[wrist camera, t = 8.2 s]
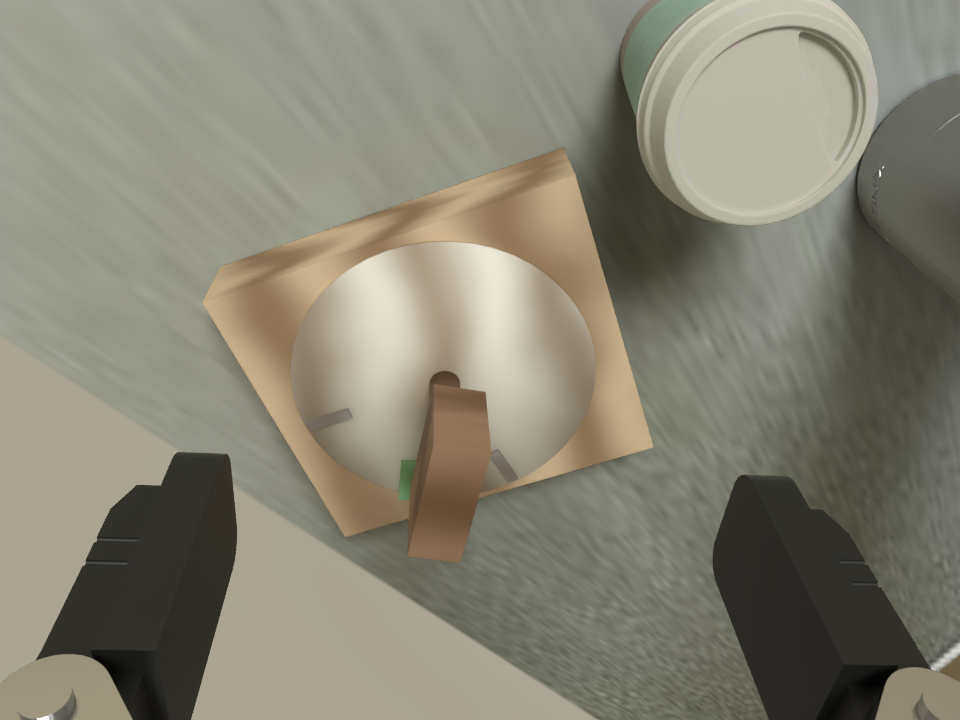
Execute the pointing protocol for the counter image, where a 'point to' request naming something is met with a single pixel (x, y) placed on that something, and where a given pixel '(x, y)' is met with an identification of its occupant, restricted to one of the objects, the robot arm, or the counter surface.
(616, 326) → the dial board
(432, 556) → the key
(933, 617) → the counter surface
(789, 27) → the coffee cup
